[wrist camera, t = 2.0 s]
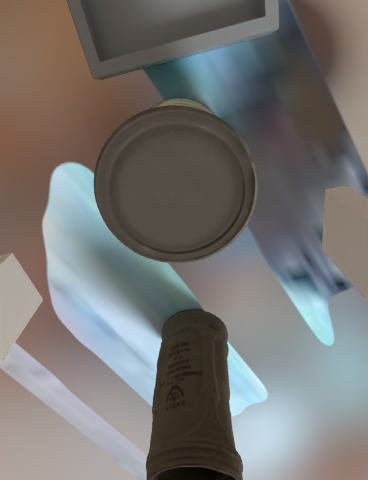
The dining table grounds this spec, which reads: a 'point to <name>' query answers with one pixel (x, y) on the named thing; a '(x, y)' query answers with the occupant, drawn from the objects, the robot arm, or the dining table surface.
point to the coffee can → (176, 182)
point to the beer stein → (193, 403)
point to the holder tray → (164, 29)
